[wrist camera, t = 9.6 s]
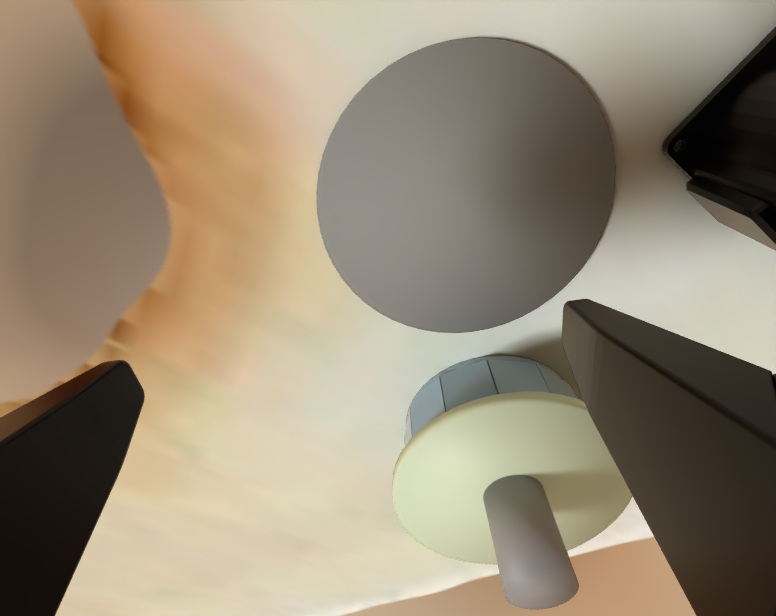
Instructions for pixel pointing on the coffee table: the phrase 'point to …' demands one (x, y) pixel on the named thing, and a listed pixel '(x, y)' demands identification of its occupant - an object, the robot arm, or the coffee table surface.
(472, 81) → the mat
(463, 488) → the lid
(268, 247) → the coffee table surface
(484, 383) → the bowl
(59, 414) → the robot arm
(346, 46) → the coffee table surface
